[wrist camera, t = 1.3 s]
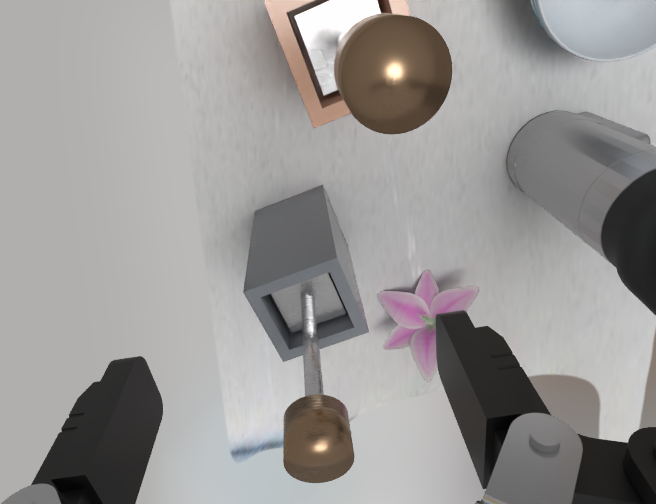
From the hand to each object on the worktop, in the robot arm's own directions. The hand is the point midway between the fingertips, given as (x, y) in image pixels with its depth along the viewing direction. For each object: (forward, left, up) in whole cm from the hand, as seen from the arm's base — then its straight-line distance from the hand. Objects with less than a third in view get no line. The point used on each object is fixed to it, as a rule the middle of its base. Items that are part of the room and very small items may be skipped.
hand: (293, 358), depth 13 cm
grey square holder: (+4, +14, -37) cm, 40 cm away
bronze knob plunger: (-6, -4, -24) cm, 25 cm away
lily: (-6, +28, -38) cm, 48 cm away
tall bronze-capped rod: (+4, +14, -24) cm, 28 cm away
